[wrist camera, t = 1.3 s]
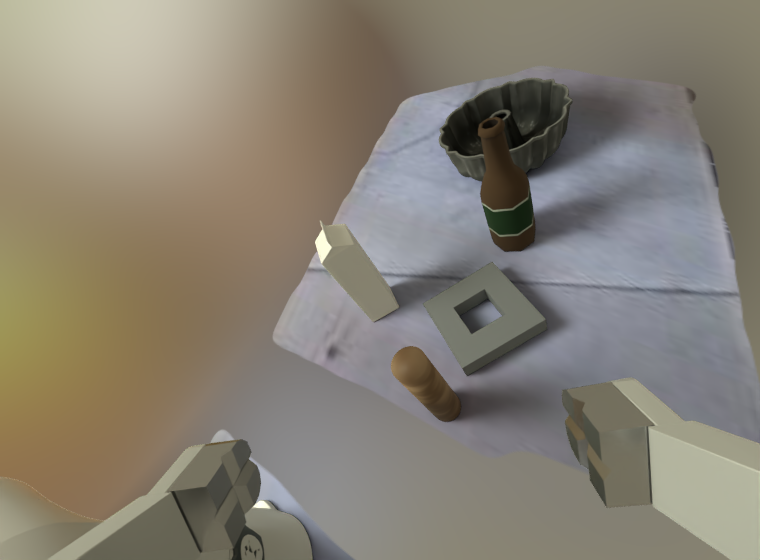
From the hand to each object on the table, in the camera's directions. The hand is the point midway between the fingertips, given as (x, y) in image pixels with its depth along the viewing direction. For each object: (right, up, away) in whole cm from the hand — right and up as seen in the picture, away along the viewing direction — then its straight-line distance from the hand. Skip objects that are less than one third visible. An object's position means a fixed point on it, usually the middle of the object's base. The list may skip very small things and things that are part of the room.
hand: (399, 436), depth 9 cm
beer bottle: (+25, +12, +57) cm, 63 cm away
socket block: (+17, -3, +50) cm, 52 cm away
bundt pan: (+29, +32, +71) cm, 83 cm away
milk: (0, -1, +61) cm, 61 cm away
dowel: (+9, -15, +44) cm, 47 cm away
